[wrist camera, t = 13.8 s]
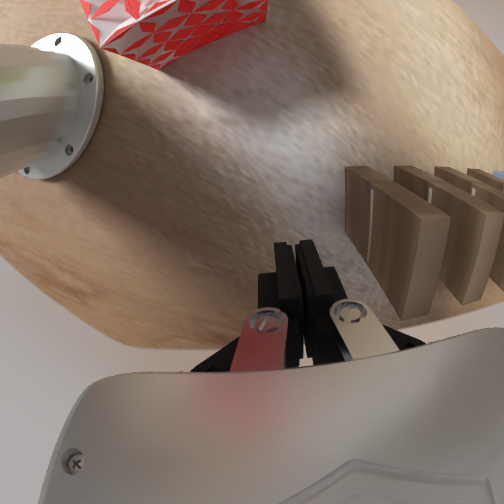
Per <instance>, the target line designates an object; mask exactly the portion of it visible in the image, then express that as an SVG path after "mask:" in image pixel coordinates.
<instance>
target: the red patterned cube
mask: <svg viewBox="0 0 504 504" xmlns="http://www.w3.org/2000/svg"><path fill="white" fill-rule="evenodd" d="M80 2H81V5H82V7H83V10H84V12H85V15H86V17H87V19H88V22H89V24H90V26H91V29H92V31H93V33H94V36H95V38H96V40H97V43H98V45H99V47H100V48H101V49H104V50H107V51H110V52H113V53H116V54H119V55H121V56H124V57H127V58H130V59H132V60H135V61H137V62H140V63H142V64H145V65H147V66H150V67H152V68H155V69H157V70H159V69H161V68H163V67H164V66H166V65H168V64H170V63H172V62H173V61H175V60H177V59H179V58H181V57H182V56H184V55H186V54H188V53H190V52H192V51H194V50H196V49H198V48H200V47H202V46H204V45H206V44H208V43H210V42H213V41H215V40H217V39H219V38H222V37H224V36H226V35H229V34H231V33H234V32H236V31H239V30H241V29H244V28H247V27H250V26H252V25H255V24H258V23H261V22H264V21H266V14H267V4H268V0H80Z"/></svg>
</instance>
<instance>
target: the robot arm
mask: <svg viewBox="0 0 504 504" xmlns="http://www.w3.org/2000/svg"><path fill="white" fill-rule="evenodd" d="M103 91H104V81H103V70H102V66H101V62H100V58H99V56H98V54H97V52H96V50H95V49H94V47H93V46H92V45H91V44H90V43H89V42H88V41H87V40H85V39H84V38H82V37H80V36H77V35H74V34H71V33H56V34H52V35H49V36H46V37H44V38H42V39H40V40H39V41H37V42H36V43H35V44H33V45H32V46H23V45H12V44H0V178H2V177H5V176H7V175H9V174H11V173H14V172H16V171H17V172H18V173H20V174H21V175H23V176H24V177H27V178H30V179H33V180H43V179H47V178H51V177H53V176H55V175H57V174H60V173H62V172H63V171H64V170H66V169H67V168H69V167H70V166H71V165H72V164H73V163H74V162H75V161H76V160H77V159H78V158H79V157H80V155H81V154H82V152H83V151H84V150H85V148H86V147H87V145H88V143H89V141H90V139H91V137H92V135H93V133H94V131H95V128H96V125H97V122H98V119H99V116H100V111H101V107H102V102H103ZM274 251H275V262H276V272H273V273H262V274H258V309H257V310H255V311H253V312H251V313H250V314H249V315H248V316H247V317H246V319H245V321H244V324H243V328H242V331H241V334H240V336H239V337H238V338H236V339H235V340H233V341H232V342H231V343H229V344H228V345H226V346H225V347H223V348H222V349H221V350H219V351H218V352H216V353H215V354H213V355H212V356H210V357H209V358H207V359H206V360H204V361H203V362H201V363H200V364H198V365H197V366H196V367H195V368H193V369H192V370H191V371H190V372H183V371H180V372H133V373H125V374H119V375H114V376H110V377H106V378H103V379H100V380H98V381H96V382H94V383H92V384H91V385H89V386H88V387H87V388H86V389H85V390H84V391H83V392H82V394H81V395H80V396H79V398H78V399H77V401H76V403H75V404H74V406H73V408H72V410H71V412H70V413H69V415H68V417H67V419H66V421H65V424H64V426H63V428H62V431H61V433H60V435H59V438H58V440H57V442H56V445H55V448H54V451H53V454H52V457H51V460H50V463H49V466H48V469H47V472H46V475H45V479H44V482H43V485H42V489H41V493H40V498H39V502H38V504H504V328H499V327H495V328H485V329H480V330H475V331H471V332H468V333H464V334H461V335H457V336H453V337H449V338H446V339H443V340H439V341H436V342H430V343H428V344H426V343H424V342H423V341H421V340H419V339H416V338H414V337H411V336H409V335H406V334H404V333H401V332H399V331H397V330H394V329H392V328H389V327H387V326H384V325H382V324H381V323H380V321H379V320H378V318H377V317H376V316H375V314H374V313H373V311H372V310H371V309H370V307H369V306H368V305H367V304H366V303H364V302H362V301H360V300H356V299H348V298H347V295H346V293H345V290H344V288H343V286H342V283H341V281H340V279H339V276H338V274H337V272H336V270H335V268H334V267H323V265H322V263H321V260H320V258H319V255H318V252H317V250H316V247H315V245H314V242H313V240H301V241H300V243H299V244H295V254H296V263H295V258H294V254H293V249H292V245H287V244H286V242H280V243H274ZM303 334H304V341H305V347H306V353H307V357H308V358H311V357H312V359H313V365H312V366H304V367H298V366H299V359H302V358H303Z"/></svg>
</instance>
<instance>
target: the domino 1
mask: <svg viewBox="0 0 504 504" xmlns="http://www.w3.org/2000/svg"><path fill="white" fill-rule="evenodd" d="M345 189H346V220H345V232H346V234H347V235H348V237H349V238H350V240H351V241H352V243H353V244H354V245H355V247H356V248H357V250H358V251H359V253H360V254H361V256H362V257H363V259H364V260H365V262H366V264H367V265H368V267H369V268H370V270H371V271H372V273H373V274H374V276H375V278H376V279H377V281H378V282H379V284H380V286H381V287H382V289H383V290H384V292H385V294H386V295H387V297H388V299H389V300H390V302H391V304H392V305H393V307H394V309H395V311H396V312H397V314H398V316H399V318H400V319H401V320H405V319H409V318H414V317H418V316H422V315H427V314H428V312H429V309H430V306H431V303H432V299H433V296H434V293H435V289H436V286H437V282H438V278H439V274H440V270H441V266H442V262H443V257H444V253H445V248H446V243H447V238H448V232H449V226H450V220H451V217H450V216H449V215H447V214H446V213H444V212H443V211H441V210H440V209H438V208H437V207H435V206H434V205H432V204H431V203H429V202H427V201H426V200H424V199H423V198H421V197H419V196H418V195H416V194H415V193H413V192H411V191H410V190H408V189H406V188H405V187H403V186H401V185H399V184H398V183H396V182H394V181H392V180H391V179H389V178H387V177H385V176H383V175H382V174H380V173H378V172H376V171H374V170H372V169H370V168H368V167H366V166H353V167H345Z"/></svg>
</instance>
